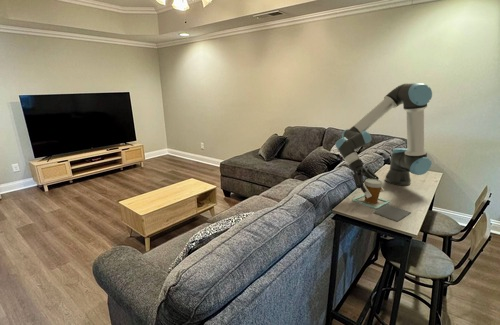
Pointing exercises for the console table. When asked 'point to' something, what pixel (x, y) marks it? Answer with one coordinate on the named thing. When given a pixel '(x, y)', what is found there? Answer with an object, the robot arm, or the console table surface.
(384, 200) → the teal frame
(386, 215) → the charcoal mat
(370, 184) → the disposable coffee cup
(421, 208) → the console table surface
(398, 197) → the console table surface
